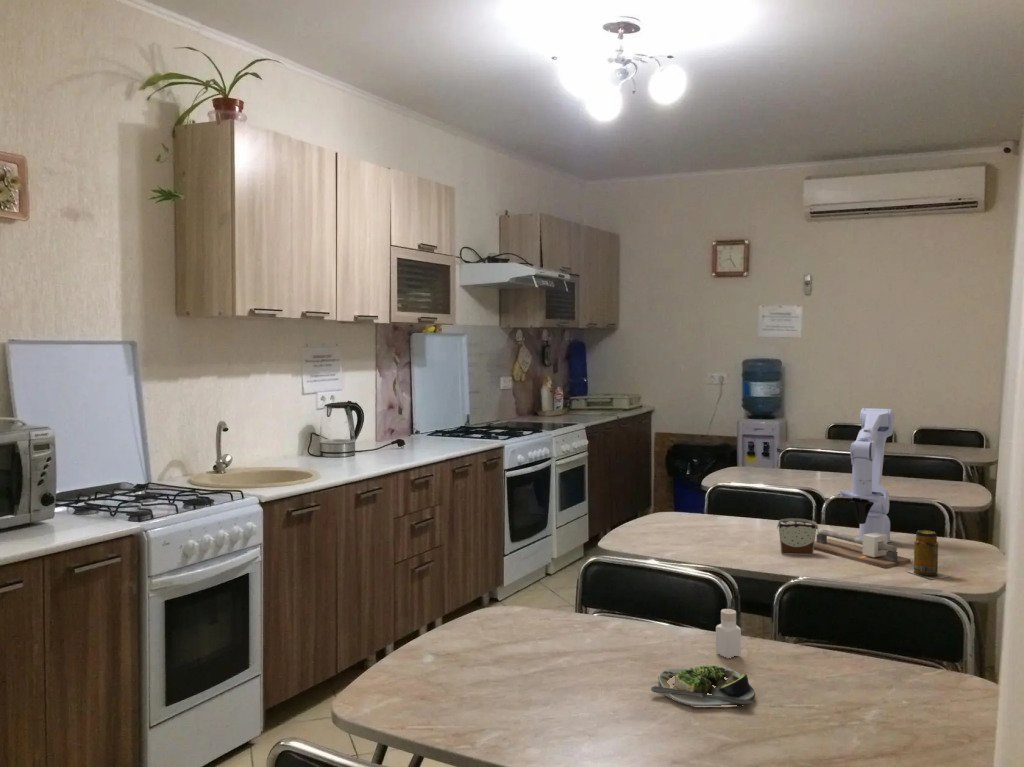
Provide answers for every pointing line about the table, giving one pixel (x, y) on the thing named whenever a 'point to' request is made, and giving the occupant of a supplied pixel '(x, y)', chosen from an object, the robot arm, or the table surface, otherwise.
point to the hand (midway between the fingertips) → (861, 523)
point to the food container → (797, 536)
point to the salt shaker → (728, 635)
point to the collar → (874, 544)
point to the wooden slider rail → (856, 549)
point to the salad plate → (706, 686)
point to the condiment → (926, 555)
